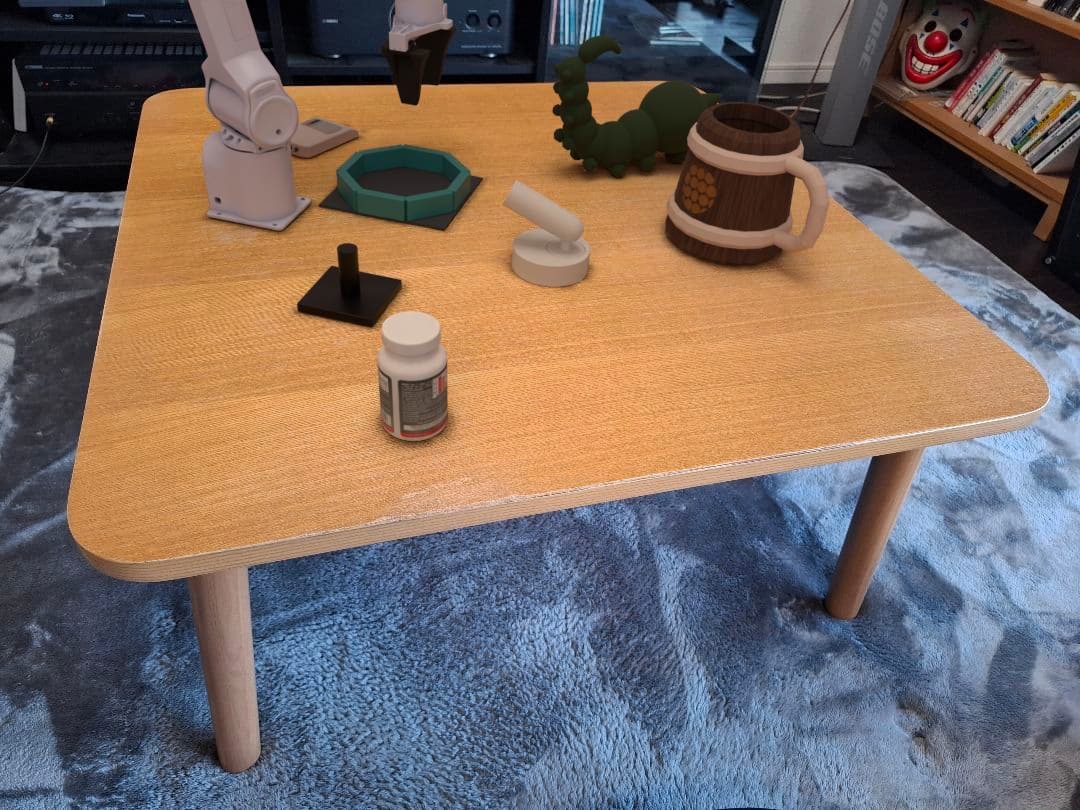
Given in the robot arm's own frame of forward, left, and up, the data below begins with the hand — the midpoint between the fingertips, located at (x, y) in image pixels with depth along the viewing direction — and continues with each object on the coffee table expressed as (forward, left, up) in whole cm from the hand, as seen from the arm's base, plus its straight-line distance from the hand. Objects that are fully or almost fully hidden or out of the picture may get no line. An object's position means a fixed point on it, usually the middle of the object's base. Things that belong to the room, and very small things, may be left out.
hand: (420, 93), depth 109 cm
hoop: (+1, -9, -9) cm, 13 cm away
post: (+5, -34, -9) cm, 36 cm away
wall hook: (+22, -20, -10) cm, 31 cm away
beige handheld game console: (-16, 0, -10) cm, 19 cm away
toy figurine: (+27, +11, -10) cm, 31 cm away
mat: (+1, -9, -9) cm, 13 cm away
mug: (+43, -7, -10) cm, 45 cm away
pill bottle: (+18, -50, -10) cm, 54 cm away
